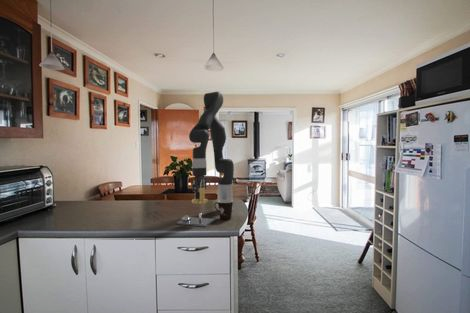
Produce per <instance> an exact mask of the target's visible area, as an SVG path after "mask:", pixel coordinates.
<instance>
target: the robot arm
mask: <svg viewBox="0 0 470 313" xmlns="http://www.w3.org/2000/svg"><path fill="white" fill-rule="evenodd" d="M203 103H204V104H203V105H204V108H205V111H204V112H203V113H202V114H201V115H200V117H199V120H198V121H197V123H196V124H195V125H194V126H193V128H192V129H191V130H190V132H189V134H188V138H189V142H192V143H193V144H194V143H195V144H199V146H197V147H193V149H192V164H191V166H192V170H191V171H192V176H194V180H191V186H192V187H191V188H192V192H194V199H200V188H201V187H204V191H205V190H206V189H207V181H208V178H207V177H205V176H207V174H208V173H207V147H208V143H209V138H211V143H212V149H213V156H214V168H215V170H216V172H217V173H219V174H223V177H222V178H219V179H217V188H218V189H217V194H218V196H217V198H218V199H217V202H218V201H220V200H232V201H233V202H234V200H233V198H234V197H233V181H234V175H235V174H234V170H235V165H234V161H233V160H232V159H229V158H224V156H223V150H224V146H225V143H226V140H227V135H226V134H227V133H226V128H225V126H224V124H223V123H222V122H221V121H220V119H218V117H217V114H218V112H219V111H220V109H221V108H222V106H223V104H224V96H223V94H222V92H221V91H212V92H207V93H204V95H203ZM209 130H210V131H209ZM208 131H209V132H210V134H209V132H208ZM217 209H218V210H219V207H218V208H217ZM233 209H234V207H233V205H232V211H233Z"/></svg>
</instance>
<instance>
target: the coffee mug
mask: <svg viewBox="0 0 470 313" xmlns="http://www.w3.org/2000/svg"><path fill="white" fill-rule="evenodd" d="M213 204H214V205H213V206H214V208H215V211H217V212H218V213H219V220H220V221H230V220H231V219H232V215H233V214H232V212H233V210H232V205H233V204H234V200H233V201H232V200H220V201H218V200H217V201H216V202H215V203H213ZM216 205H218V207H219V210H218V208H217V207H216Z"/></svg>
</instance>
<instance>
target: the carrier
mask: <svg viewBox="0 0 470 313" xmlns="http://www.w3.org/2000/svg"><path fill="white" fill-rule="evenodd" d="M215 221H216V220H215V219H214V218H206V217H203V216H202V213H200V212H199V213H198V217H193V216H188V214H185V215H184V216H182V217H181V220H179V221H177V222H176V225H180V224H181V226H192V227H193V226H194V227H208V226H209V225H211V224H213V223H214V222H215Z"/></svg>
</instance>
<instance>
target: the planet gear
mask: <svg viewBox="0 0 470 313" xmlns="http://www.w3.org/2000/svg"><path fill="white" fill-rule="evenodd" d="M204 187H205V186H204ZM204 187H201V188H200V199H195V198H192V200H191V203H192V204H196V205H197V204H198V205H199V204H200V205H201V204H207V203H208V202H209V201H208V198H206V196H205V190H204Z"/></svg>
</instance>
